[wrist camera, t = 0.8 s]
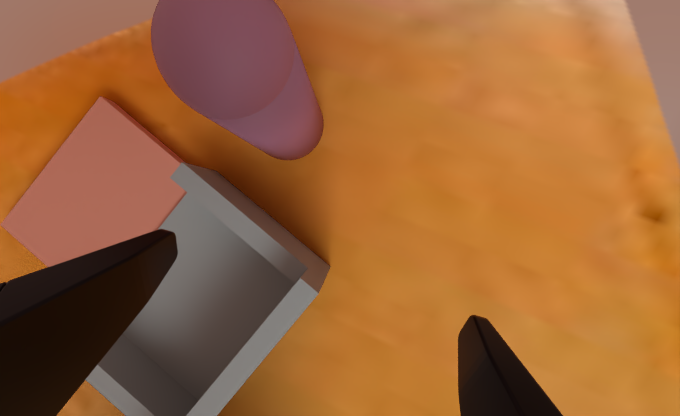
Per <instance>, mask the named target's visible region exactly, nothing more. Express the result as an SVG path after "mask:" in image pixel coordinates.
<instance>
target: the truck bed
mask: <svg viewBox="0 0 680 416" xmlns="http://www.w3.org/2000/svg"><path fill="white" fill-rule="evenodd" d="M1 226H2V227H3V228H4V229H6V230H7V231H8V232H9V233H10V234H11V235H12V236H13V237H15V238H16V239H17V240H18V241H19V242H20V243H21V244H23V245H24V246H25V247H26V248H27V249H28V250H29V251H30V252H32V253H33V254H34V255H35V256H36V257H37V258H38V259H40V260H41V261H42V262H43V263H44V264H45V265H46V266H47V267H50V266H53V265H56V264H59V263H62V262H65V261H68V260H71V259H74V258H77V257H79V256H82V255H85V254H88V253H91V252H94V251H97V250H100V249H103V248H106V247H109V246H111V245H114V244H117V243H120V242H123V241H126V240H129V239H132V238H135V237H138V236H141V235H143V234H146V233H149V232H152V231H155V230H158V229H165V230H168V231H172V232H174V233H175V235H176V241H177V249H178V255H177V258H176V260H175V262H174V264H173V265H172V267H171V268H170V270H169V271H168V273H167V274H166V276H165V277H164V279H163V280H162V282H161V283H160V285H159V286H158V288H157V290H156V291H155V293H154V294H153V296H152V297H151V299H150V300H149V301H148V303H147V304H146V305H145V307H144V308H143V309H142V310H141V312H140V313H139V314H138V315H137V317H136V318H135V319H134V320H133V322H132V323H131V324H130V325H129V326H128V328H127V329H126V330H125V331H124V333H123V334H122V335H121V336H120V338H119V339H118V340H117V341H116V343H115V344H114V345H113V346H112V347H111V349H110V350H109V351H108V352H107V354H106V355H105V356H104V357H103V359H102V360H101V361H100V362H99V363H98V365H97V366H96V367H95V368H94V370H93V371H92V372H91V373H90V375H89V376H88V377H87V378H86V379H85V380H86V381H88V382H89V383H90V384H91V385H92V386H93V387H94V388H95V389H96V390H98V391H99V392H100V393H101V394H102V395H103V396H104V397H105V398H107V399H108V400H109V401H110V402H111V403H112V404H113V405H114V406H115V407H117V408H118V409H119V410H120V411H121V412H122V413H123V414H124V415H125V416H217V415H218V414H219V413H220V411H221V410H222V409H223V408H224V407H225V405H226V404H227V403H228V402H229V401H230V399H231V398H232V397H233V396H234V395H235V393H236V392H237V391H238V390H239V389H240V387H241V386H242V385H243V384H244V382H245V381H246V380H247V379H248V378H249V376H250V375H251V374H252V373H253V372H254V370H255V369H256V368H257V367H258V366H259V364H260V363H261V362H262V361H263V360H264V358H265V357H266V356H267V355H268V354H269V352H270V351H271V350H272V349H273V348H274V346H275V345H276V344H277V343H278V342H279V340H280V339H281V338H282V337H283V336H284V334H285V333H286V332H287V331H288V330H289V328H290V327H291V326H292V325H293V324H294V322H295V321H296V320H297V319H298V318H299V316H300V315H301V314H302V313H303V312H304V310H305V309H306V308H307V307H308V306H309V304H310V303H311V302H312V301H313V300H314V298H315V297H316V296H317V295H318V294H319V291H320V289H321V287H322V285H323V282H324V280H325V278H326V276H327V273H328V271H329V269H330V266H329V265H328V264H327V263H326V262H324V261H323V260H322V259H321V258H320V257H318V256H317V255H316V254H315V253H314V252H312V251H311V250H310V249H309V248H308V247H306V246H305V245H304V244H303V243H302V242H301V241H299V240H298V239H297V238H296V237H295V236H293V235H292V234H291V233H290V232H289V231H287V230H286V229H285V228H284V227H283V226H281V225H280V224H279V223H278V222H277V221H275V220H274V219H273V218H272V217H271V216H270V215H268V214H267V213H266V212H265V211H264V210H262V209H261V208H260V207H259V206H258V205H256V204H255V203H254V202H253V201H252V200H250V199H249V198H248V197H247V196H246V195H244V194H243V193H242V192H241V191H240V190H239V189H237V188H236V187H235V186H234V185H233V184H231V183H230V182H229V181H228V180H227V179H225V178H224V177H223V176H222V175H221V174H219V173H218V172H217V171H215V170H211V169H207V168H203V167H199V166H195V165H191V164H188V163H186V162H184V161H183V160H182V159H181V158H180V157H178V156H177V155H176V154H175V153H174V152H173V151H171V150H170V149H169V148H168V147H167V146H165V145H164V144H163V143H162V142H161V141H159V140H158V139H157V138H156V137H155V136H154V135H152V134H151V133H150V132H149V131H148V130H146V129H145V128H144V127H143V126H142V125H140V124H139V123H138V122H137V121H136V120H134V119H133V118H132V117H131V116H130V115H129V114H127V113H126V112H125V111H124V110H123V109H121V108H120V107H119V106H118V105H117V104H115V103H114V102H113V101H111V100H108V99H106V98H104V97H101V96H100V97H99V98H98V99H97V101H96V102H95V103H94V105H93V106H92V107H91V109H90V110H89V111H88V112H87V114H86V115H85V116H84V118H83V119H82V120H81V121H80V123H79V124H78V125H77V127H76V128H75V129H74V130H73V132H72V133H71V134H70V136H69V137H68V138H67V139H66V141H65V142H64V143H63V145H62V146H61V147H60V148H59V150H58V151H57V152H56V154H55V155H54V156H53V157H52V159H51V160H50V161H49V163H48V164H47V165H46V167H45V168H44V169H43V170H42V172H41V173H40V174H39V176H38V177H37V178H36V179H35V181H34V182H33V183H32V185H31V186H30V187H29V188H28V190H27V191H26V192H25V194H24V195H23V196H22V197H21V199H20V200H19V201H18V203H17V204H16V205H15V206H14V208H13V209H12V210H11V212H10V213H9V214H8V215H7V217H6V218H5V219H4V221H3V222H2V223H1Z"/></svg>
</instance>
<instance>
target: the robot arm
mask: <svg viewBox="0 0 680 416" xmlns="http://www.w3.org/2000/svg"><path fill="white" fill-rule="evenodd" d="M177 255H178V249H177V241H176V235H175V233H174V232H172V231H168V230H165V229H158V230H155V231H152V232H149V233H146V234H143V235H141V236H138V237H135V238H132V239H129V240H126V241H123V242H120V243H117V244H114V245H111V246H109V247H106V248H103V249H100V250H97V251H94V252H91V253H88V254H85V255H82V256H79V257H77V258H74V259H71V260H68V261H65V262H62V263H59V264H56V265H53V266H50V267H47V268H44V269H42V270H39V271H36V272H33V273H30V274H27V275H24V276H21V277H18V278H15V279H12V280H10V281H8V282H7V283H6V282H3V283H1V284H0V416H56V415H57V414H58V413H59V412H60V410H61V409H62V408H63V407H64V405H65V404H66V403H67V402H68V400H69V399H70V398H71V397H72V396H73V394H74V393H75V392H76V391H77V389H78V388H79V387H80V386H81V384H82V383H83V382H84V381H85V379H86V378H87V377H88V376H89V375H90V373H91V372H92V371H93V370H94V368H95V367H96V366H97V365H98V363H99V362H100V361H101V360H102V359H103V357H104V356H105V355H106V354H107V352H108V351H109V350H110V349H111V347H112V346H113V345H114V344H115V343H116V341H117V340H118V339H119V338H120V336H121V335H122V334H123V333H124V331H125V330H126V329H127V328H128V326H129V325H130V324H131V323H132V322H133V320H134V319H135V318H136V317H137V315H138V314H139V313H140V312H141V310H142V309H143V308H144V307H145V305H146V304H147V303H148V301H149V300H150V299H151V297H152V296H153V294H154V293H155V291H156V290H157V288H158V286H159V285H160V283H161V282H162V280H163V279H164V277H165V276H166V274H167V273H168V271H169V270H170V268H171V267H172V265H173V264H174V262H175V260H176V258H177ZM458 392H459V404H460V412H461V416H563V415H562V414H561V412H560V411H559V410H558V409H557V407H556V406H555V405H554V404H553V402H552V401H551V400H550V398H549V397H548V396H547V395H546V393H545V392H544V391H543V389H542V388H541V387H540V386H539V384H538V383H537V382H536V381H535V379H534V378H533V377H532V375H531V374H530V373H529V372H528V370H527V369H526V368H525V366H524V365H523V364H522V363H521V361H520V360H519V359H518V358H517V356H516V355H515V354H514V352H513V351H512V350H511V349H510V347H509V346H508V345H507V343H506V342H505V341H504V340H503V338H502V337H501V336H500V335H499V333H498V332H497V331H496V329H495V328H494V327H493V326H492V324H491V323H490V322H489V321H488V320H487V319H486V318H484V317H480V316H476V315H471V316H470V317H469V318H468V320H467V321H466V323H465V325H464V326H463V328H462V329H461V331H460V333H459V336H458Z"/></svg>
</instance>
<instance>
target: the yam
mask: <svg viewBox="0 0 680 416" xmlns="http://www.w3.org/2000/svg"><path fill="white" fill-rule="evenodd" d="M151 42H152V49H153V53H154V57H155V60H156V63H157V66H158V68H159V70H160V73H161V74H162V76H163V78H164V79H165V81H166V83H167V84H168V86H169V87H170V88H171V89H172V91H173V92H174V93H175V94H176V95H177V96H178V97H179V98H180V99H181V100H182V101H183V102H184V103H186V104H187V105H188V106H190V107H191V108H192V109H194V110H195V111H197V112H199V113H200V114H202V115H204V116H205V117H207V118H209V119H210V120H212V121H214V122H215V123H217V124H219V125H220V126H222V127H224V128H225V129H227V130H229V131H230V132H232V133H234V134H235V135H237V136H239V137H240V138H242V139H244V140H245V141H247V142H249V143H250V144H252V145H254V146H255V147H257V148H259V149H260V150H262V151H264V152H265V153H267V154H269V155H270V156H272V157H274V158H277V159H281V160H295V159H299V158H301V157H304V156H305V155H307V154H309V153H310V152H311V151H312V150H313V149H314V148H315V147H316V145H317V144H318V142H319V141H320V138H321V136H322V132H323V116H322V113H321V110H320V107H319V105H318V102H317V99H316V97H315V94H314V91H313V89H312V86H311V83H310V80H309V78H308V75H307V72H306V70H305V67H304V64H303V62H302V59H301V56H300V54H299V51H298V48H297V46H296V43H295V40H294V38H293V35H292V32H291V30H290V27H289V25H288V23H287V20H286V18H285V16H284V15H283V13H282V11H281V10H280V8H279V7H278V6H277V4H276V3H275V2H274V1H273V0H159V2H158V4H157V6H156V9H155V12H154V15H153V19H152V26H151Z"/></svg>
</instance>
